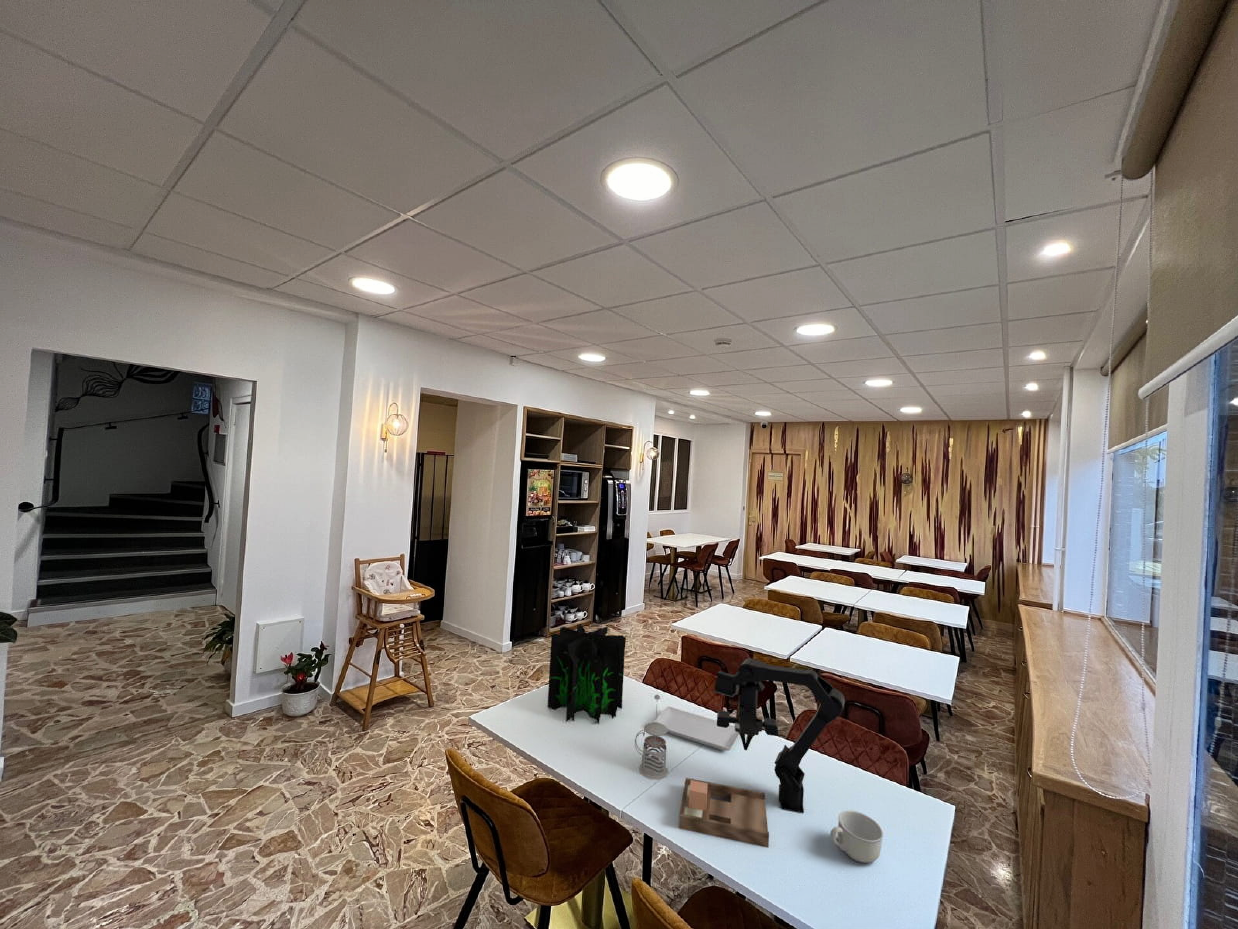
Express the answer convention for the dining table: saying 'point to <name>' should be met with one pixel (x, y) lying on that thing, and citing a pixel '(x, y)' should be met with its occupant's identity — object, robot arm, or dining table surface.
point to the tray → (698, 728)
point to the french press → (652, 764)
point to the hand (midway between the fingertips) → (745, 749)
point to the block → (698, 795)
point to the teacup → (858, 836)
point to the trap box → (727, 814)
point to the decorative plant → (586, 672)
